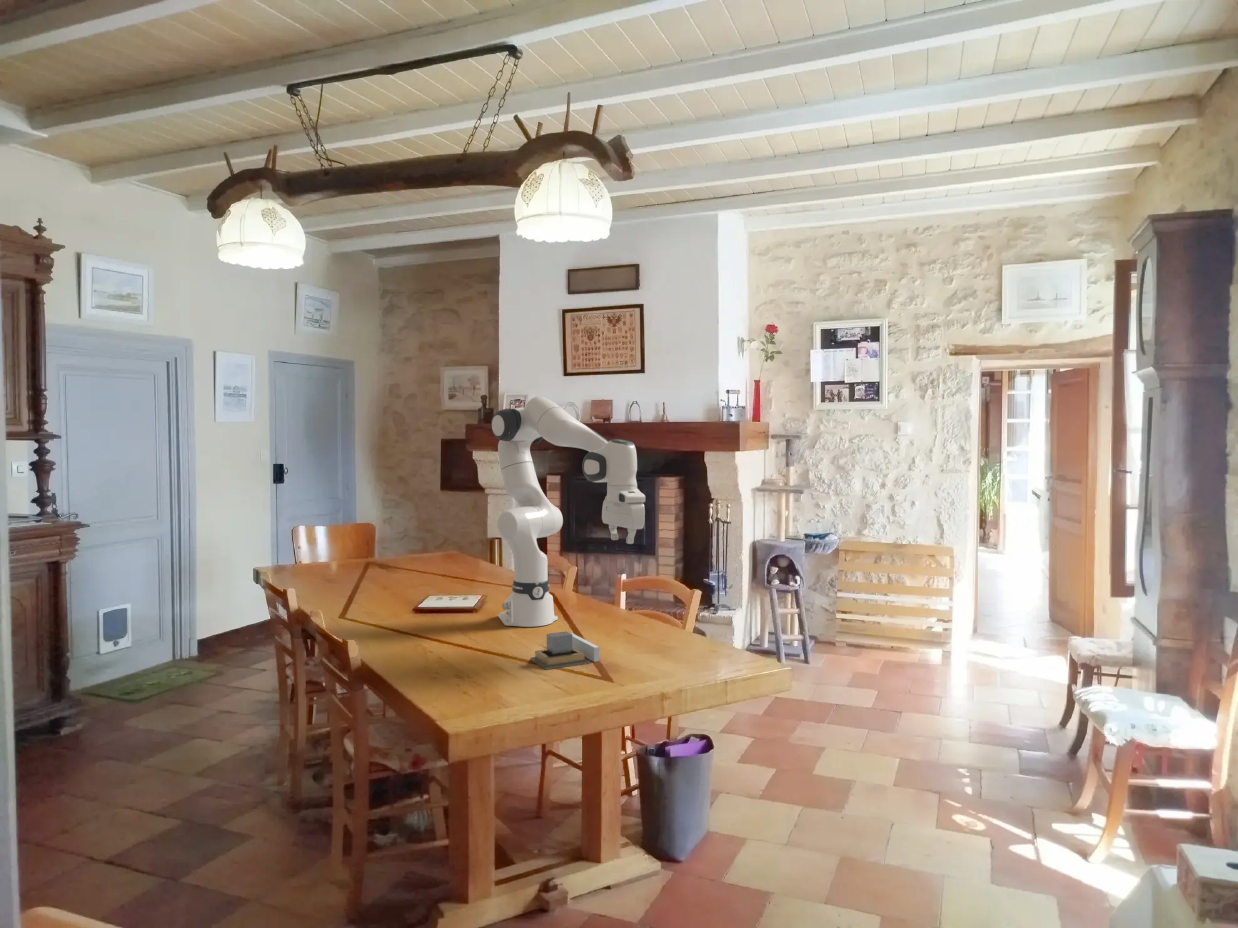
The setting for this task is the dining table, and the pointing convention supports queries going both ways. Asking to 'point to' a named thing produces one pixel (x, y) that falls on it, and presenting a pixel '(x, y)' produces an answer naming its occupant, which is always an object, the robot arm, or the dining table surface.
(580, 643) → the door edge
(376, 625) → the dining table surface
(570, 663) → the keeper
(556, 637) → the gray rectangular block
